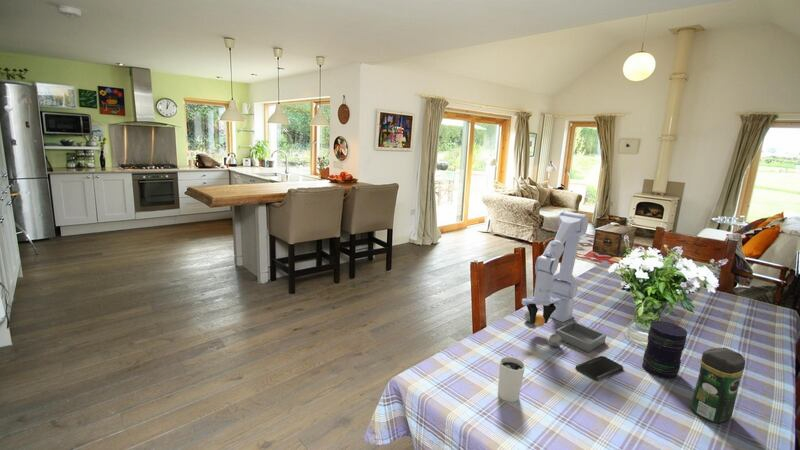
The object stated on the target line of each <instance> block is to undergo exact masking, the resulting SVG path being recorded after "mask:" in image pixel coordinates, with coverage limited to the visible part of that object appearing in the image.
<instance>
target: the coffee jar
mask: <svg viewBox="0 0 800 450" xmlns="http://www.w3.org/2000/svg"><path fill="white" fill-rule="evenodd" d="M745 366H746V360H745V358H744V356H743V355H742V354H741V353H739V352H737V351H735V350H733V349H730V348H728V347H725V346H724V347H713V348H709V349H707V350H705V351H703V352H702V356H701V359H700V367H699V372H698V373H699V374H698V376H697V380H696V384H695V388H694V390H693V391H694V392H693V393H692V396H691V402H690V405H689V406H690V409H691V410H692V411H693V412H694V413H695V414H696V415H698V416H699V417H700V418H702V419H704V420H707V421H710V422H713V423H716V424H719V423H723V422H727V420H730V419H731V418H732V416H733V412H734V409H735V404H736V398H737V393H738V391H739V386H740V382H741V379H742V376H743V374H744V370H745Z"/></svg>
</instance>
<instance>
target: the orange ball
mask: <svg viewBox="0 0 800 450" xmlns="http://www.w3.org/2000/svg"><path fill="white" fill-rule="evenodd" d="M545 324H546V323H545V319H544V317H543V314H536V319H535V323H534V324H533V325H534V326H535V327H543V326H544V325H545Z"/></svg>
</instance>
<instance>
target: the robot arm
mask: <svg viewBox="0 0 800 450" xmlns="http://www.w3.org/2000/svg"><path fill="white" fill-rule="evenodd" d="M589 220H590V219H589V216H588V214H586V213H585V214H584V213H577V212H571V211H566V210H562V211H560V213H559V214H558V219H557V222H558V230H557V232H556V234H555V237H554V239H553V240H550V241H549V242H548V244H547V245H546V247H545V249H544V251H543V253H542V254H541V255H539V256H538V257H537V258H536V260H535V265H534V268H535V269H534V270H535V276H536V277H535V285H534V291H533V296H531V297H526V298H521V305H522V306H526V308H527V310H528V311H529V315H530V322H531V323H532V324H533V325H534V323H535V319H536V315H537V313H538V311H539V307H537V306H538V305H540V306H541V305H542V310H543V312H542V316H543V317H544V319H545V323H544V324H548V321H549V319H550V318H551V319H553V320H556V321H559V322H561V323H564V322H567V321H568V320H570V319H572V318H574V317H575V314H574V315H573V312H574V305H575V300H574V299H575V298H576V296H577V294H578V284H579V281H578V280H577V279H576V277H575V276H574V275H573V271H574V266H575V263H576V258H577V253H578V248H579V244H580V240H581V237H582V236H584V235H586V233H587V231H588V227H589V222H590V221H589ZM561 256H562V257H561ZM560 258H561V259H562V260H561V262H560ZM559 263H560V268H559V267H558V266H559ZM558 268H559V272H557V271H558ZM556 272H557V273H556ZM528 311H527V312H528ZM531 323H530V324H531Z"/></svg>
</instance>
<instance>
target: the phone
mask: <svg viewBox="0 0 800 450" xmlns="http://www.w3.org/2000/svg"><path fill="white" fill-rule="evenodd" d="M575 370H576V371H577V372H579V373H580V374H583V375H585V376H586V377H588V378H589V379H591V380H592V381H596V382H599V381H602V380H604V379H606V378H608V377H610V376H613V375H615V374H618V373H619V372H623V371H624V366H623V365H621V364H620V363H618V362H616V361H614V360H612V359H610V358H608V357H606V356H604V355H600V356H597V357H595V358H592V359H589V360H587V361H585V362H582V363H578V364H576V365H575Z"/></svg>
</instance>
